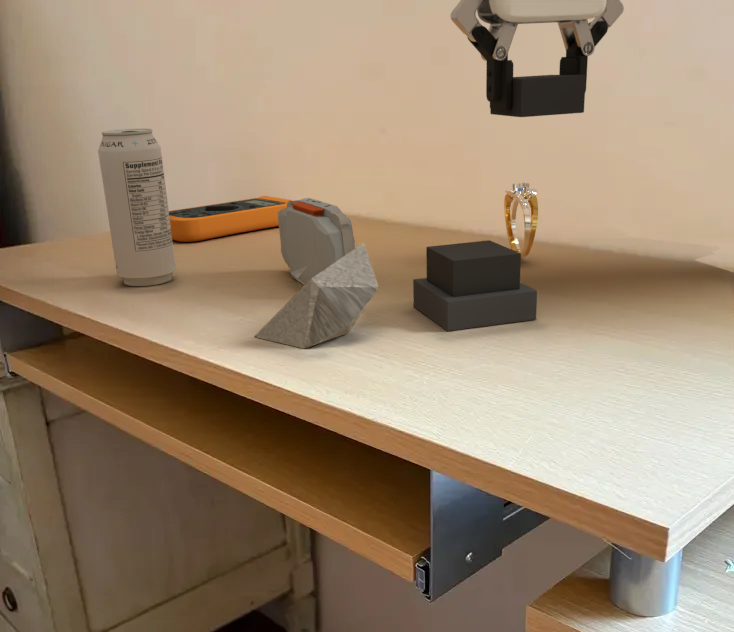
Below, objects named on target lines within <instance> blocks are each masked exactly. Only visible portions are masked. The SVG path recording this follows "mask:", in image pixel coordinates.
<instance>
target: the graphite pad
mask: <svg viewBox="0 0 734 632" xmlns="http://www.w3.org/2000/svg"><path fill="white" fill-rule="evenodd" d="M585 81H586V75H559V74H542V75H540V74H539V75H526V76H525V75H523V76H513V97H512V109H511V110H510V111H493V110H491V109H490V108H489V111H490V113H489V114H490V115H495V116H503V117H515V118H528V117H529V118H531V117H544V116H557V115H570V114H571V115H572V114H583V113H585V99H586V98H585V97H586V92H585ZM586 82H587V81H586Z"/></svg>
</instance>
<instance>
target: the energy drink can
mask: <svg viewBox="0 0 734 632" xmlns="http://www.w3.org/2000/svg"><path fill="white" fill-rule="evenodd" d="M101 135H102V138H101V141H100V143H99V146H98V148H97V149H98V150H97V154H98V159H99V160H98V161H99V166H100V173H101V180H102V186H103V192H104V199H105V206H106V212H107V218H108V225H109V231H110V237H111V244H112V250H113V251H112V252H113V258H114V264H115V270H116V276H118V277H119V278H121V279H122V281H123V284H124V285H126V286H129V287H147V286H149V287H151V286H157V285H161V284H162V285H163V284H165V283H168V282H170V281H171V280H173V279H172V278H173V276H172V275H173V273H174V272H175V271H176V270H177V269H176V267H177V266H176V258H175V252H174V251H175V250H174V243H173V242H174V241H173V240H172V234H171V226H170V218H169V211H170V210H169V203H168V196H167V187H166V180H165V173H164V163H163V156H162V147H161V146H160V143H159V142H158V140H157V139H156V138H155V137H154V135H153V129H152V128H123V129H122V128H121V129H112V130H111V129H110V130H104V131H101Z"/></svg>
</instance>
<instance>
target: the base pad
mask: <svg viewBox="0 0 734 632" xmlns="http://www.w3.org/2000/svg"><path fill="white" fill-rule="evenodd" d="M412 287H413V288H412V291H413V294H412V297H413V308H415V309H416V310H418V312H420V313H421V314H423V315H425V316H426V317H427V318H428V319H430V320H431V321H433V322H435V324H437V325H438V326H440V327H441V328H443V329H444V330H445V331H447V332H453V331H461V330H465V329H466V330H467V329H473V328H482V327H488V326H489V327H490V326H497V325H504V324H511V323H512V324H513V323H519V322H527V321H534V320H537V309H538V305H537V304H538V290H537V289H535V288H533V287H531V286H529V285H527V284H525V283H523V282H521V281H520V289H515V290H507V291H499V292H490V293H482V294H474V295H466V296H457V297H452V296H451V295H449V294H448V293H446V292H444V291H443V290H441V289H440V288H438V287H436V286H435V285H433V284H431V283H430V282H428V281H427V277H422V278H413V280H412Z"/></svg>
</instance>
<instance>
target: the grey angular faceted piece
mask: <svg viewBox="0 0 734 632" xmlns="http://www.w3.org/2000/svg"><path fill="white" fill-rule="evenodd" d="M306 269H307V266H306V267H304V268H301V269H298V270H296V271H293V272H291V271H290V272H289V273H290V275H291V274H292V275H293V276H294V277H295V278H296V279H298V280H299V281H300V282H301V283H300V282H299V281H298V282H299V283H300V284H302V285H303V286H302V287H301V288H300V289H299V290H298V291H297V292H296V293H295V294H294V295H293V296H292V297H291V299H289V300H288V301H287V302H286V304H285V305H284V306H282V307H281V309H280V310H279V311H277V312H276V314H275V315H274V316H272V318H271V319H270V320H269V321H268V322H267V323H266V324H265V325H264V326H263V327H262V328H261V329H260V330H259V331H258V332H257V333H256V334H255V335H254V336H253V337H254V338H258V339H262V340H266V341H270V342H275V343H277V344H283V345H287V346H291V347H295V348H301V349H308V348H311V347H314V346H316V345H319V344H322V343H325V342H327V341H330V340H333V339H336V338H339V337H341V336H345V335H347V334H349V333H350V332H351V330H352V328H353V327H354V325H355V324H356V322H357V321H358V319H359V318H360V316H361V315H362V313H363V312H364V311H365V309H366V307H367V306H368V304H369V303H370V301H371V300H372V298H373V297H374V295H375V293H376V292H377V291H378V289H379V288H380V287H379V284H378V280H377V277H376V273H375V271H374V268H373V266H372V262H371V260H370V257H369V253H368V251H367V248H366V244H365V242H363V243H361V244H359V245H358V246H357V247H355V249H354V250H352V251H351V252H349V253H348V254H346V255H345V256H344V257H342V258H341V259H339V260H338V261H336V262H335V263H333V264H332V265H330V266H329V267H327V268H326V269H324V270H323V271H321V272H320V273H319V274H317V275H316V276H314V277H313V278H311V279H310V280H309V281H308V282H307V283H306V284H304V283H303V282H302V281H301V280H300V279H299V277H300V276H301V274H302V273H303V272H304V271H305V270H306ZM292 275H291V276H292ZM295 278H294V279H295ZM296 279H295V280H296Z"/></svg>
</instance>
